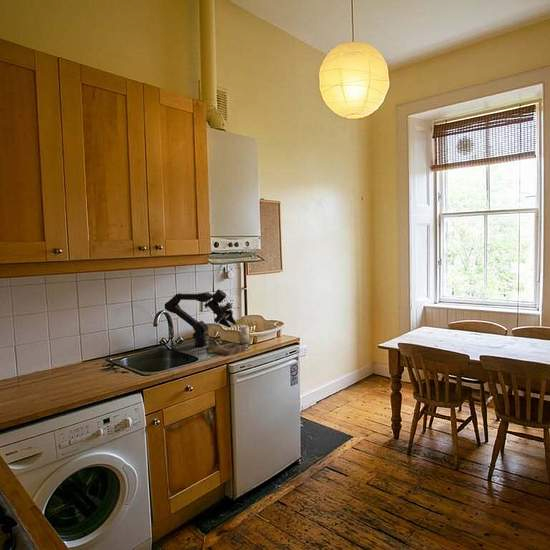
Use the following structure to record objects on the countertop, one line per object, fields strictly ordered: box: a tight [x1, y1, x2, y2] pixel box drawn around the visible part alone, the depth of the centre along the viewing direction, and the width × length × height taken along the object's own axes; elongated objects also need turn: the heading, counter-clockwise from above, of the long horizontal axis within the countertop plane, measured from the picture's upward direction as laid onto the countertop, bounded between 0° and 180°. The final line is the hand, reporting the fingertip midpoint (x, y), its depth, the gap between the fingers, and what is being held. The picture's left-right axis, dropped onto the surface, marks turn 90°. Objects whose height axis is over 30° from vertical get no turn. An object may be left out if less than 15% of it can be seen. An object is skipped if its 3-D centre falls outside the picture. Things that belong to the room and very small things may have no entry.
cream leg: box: [239, 325, 250, 349], centre depth 248 cm, size 5×5×13 cm
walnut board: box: [214, 342, 246, 356], centre depth 239 cm, size 13×13×3 cm
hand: (233, 325), depth 250 cm, fingers open, 9 cm apart
